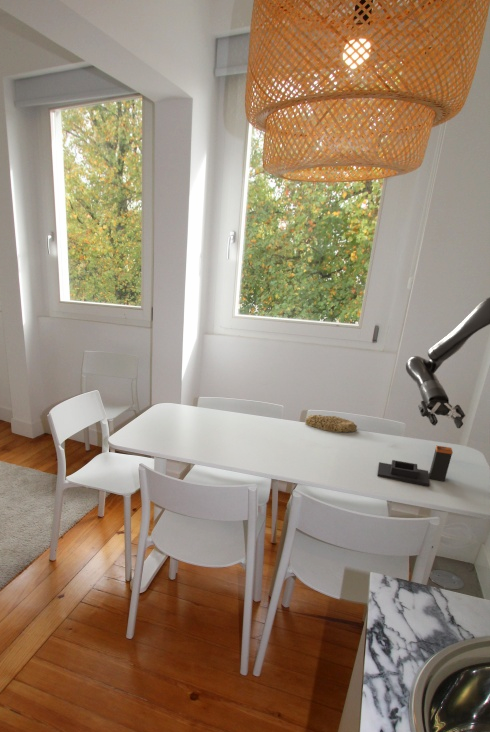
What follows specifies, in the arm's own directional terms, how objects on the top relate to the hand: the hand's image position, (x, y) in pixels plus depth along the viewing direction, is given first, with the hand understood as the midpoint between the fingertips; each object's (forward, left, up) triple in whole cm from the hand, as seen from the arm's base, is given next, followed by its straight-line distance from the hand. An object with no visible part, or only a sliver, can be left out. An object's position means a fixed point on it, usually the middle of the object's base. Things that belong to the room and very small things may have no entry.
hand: (447, 425), depth 162 cm
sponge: (+44, -21, -18) cm, 52 cm away
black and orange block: (-1, +5, -18) cm, 19 cm away
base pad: (+9, +10, -18) cm, 22 cm away
